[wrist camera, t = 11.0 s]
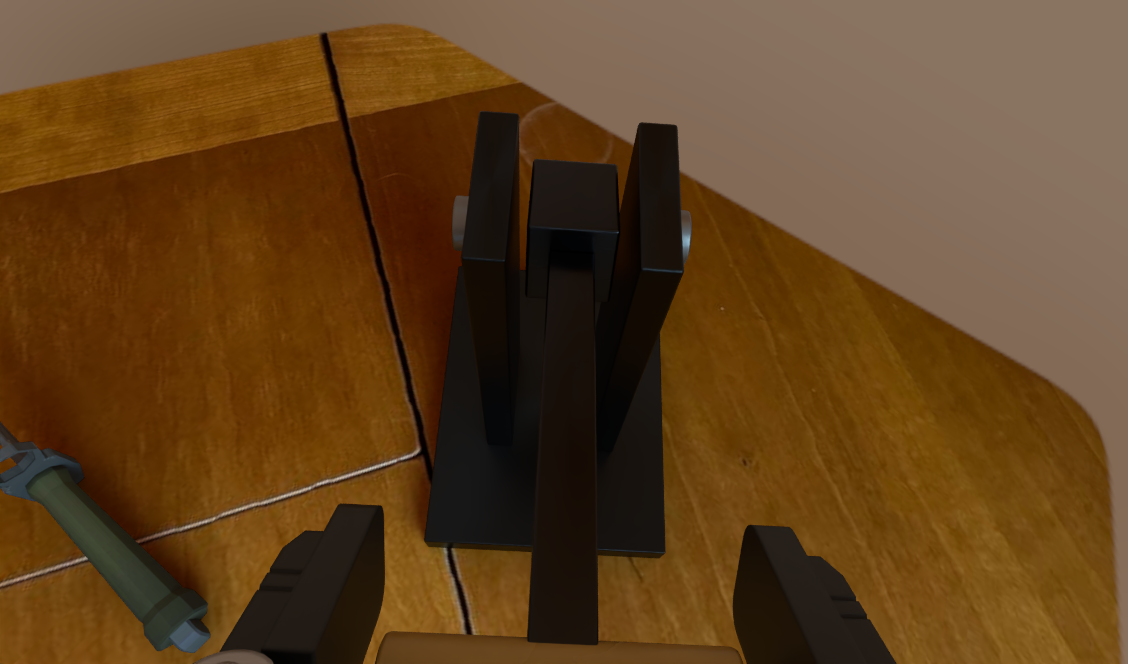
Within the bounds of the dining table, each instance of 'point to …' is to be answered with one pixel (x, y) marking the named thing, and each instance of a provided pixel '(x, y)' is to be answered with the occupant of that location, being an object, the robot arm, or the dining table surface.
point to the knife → (106, 545)
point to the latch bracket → (515, 356)
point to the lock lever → (562, 443)
